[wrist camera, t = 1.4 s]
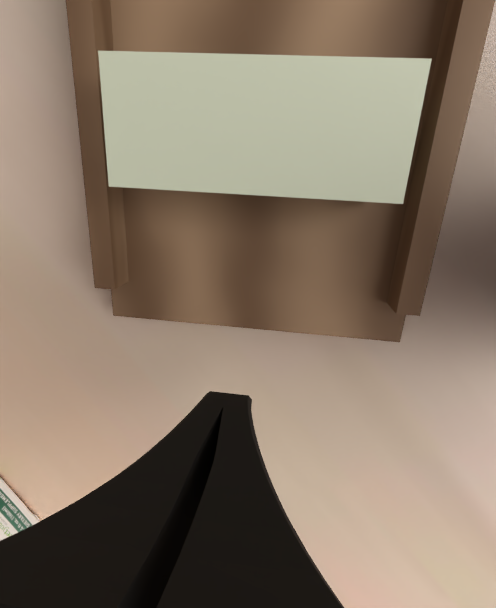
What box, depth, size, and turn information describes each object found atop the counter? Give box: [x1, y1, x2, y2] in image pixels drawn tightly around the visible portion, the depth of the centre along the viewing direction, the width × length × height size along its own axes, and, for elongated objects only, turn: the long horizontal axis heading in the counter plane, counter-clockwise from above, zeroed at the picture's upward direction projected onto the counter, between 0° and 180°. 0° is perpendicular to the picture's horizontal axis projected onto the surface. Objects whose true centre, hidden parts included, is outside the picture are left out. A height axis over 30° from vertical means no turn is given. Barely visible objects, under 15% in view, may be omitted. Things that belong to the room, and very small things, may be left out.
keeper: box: [98, 51, 432, 204], centre depth 13 cm, size 10×4×4 cm, turn 87°
